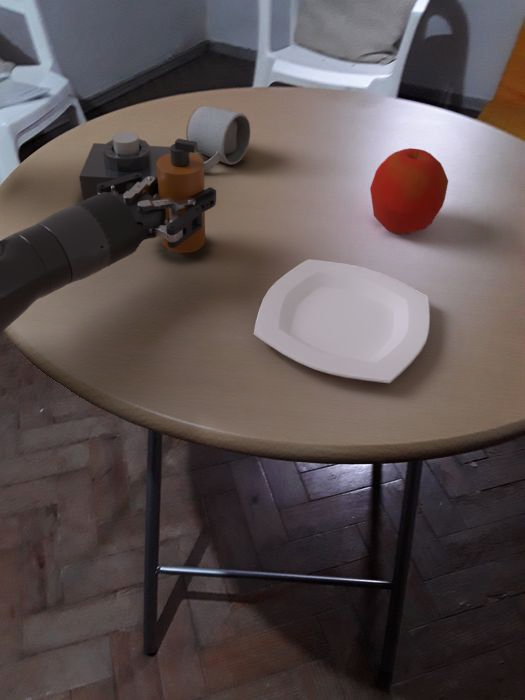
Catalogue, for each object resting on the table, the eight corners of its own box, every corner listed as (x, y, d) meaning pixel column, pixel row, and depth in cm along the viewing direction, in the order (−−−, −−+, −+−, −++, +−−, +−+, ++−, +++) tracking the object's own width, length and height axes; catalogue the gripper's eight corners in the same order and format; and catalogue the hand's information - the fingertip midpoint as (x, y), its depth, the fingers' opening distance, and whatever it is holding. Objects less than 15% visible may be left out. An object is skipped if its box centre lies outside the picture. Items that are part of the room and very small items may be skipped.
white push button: (112, 155, 88) (110, 142, 87) (116, 144, 91) (114, 130, 90) (137, 157, 89) (136, 143, 87) (141, 145, 91) (140, 131, 90)
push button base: (83, 201, 90) (76, 162, 86) (97, 167, 97) (91, 130, 93) (167, 205, 90) (164, 166, 86) (174, 171, 97) (172, 134, 93)
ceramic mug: (210, 139, 105) (209, 94, 100) (251, 153, 102) (252, 107, 97) (171, 165, 99) (167, 118, 93) (213, 181, 96) (212, 133, 91)
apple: (442, 247, 86) (465, 170, 78) (368, 243, 86) (384, 165, 78) (429, 207, 93) (449, 133, 85) (361, 204, 93) (375, 129, 85)
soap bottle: (155, 247, 81) (147, 146, 71) (171, 225, 85) (165, 126, 75) (196, 256, 80) (193, 155, 70) (210, 233, 84) (210, 134, 74)
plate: (231, 350, 69) (231, 337, 68) (298, 259, 82) (300, 247, 81) (398, 412, 64) (402, 399, 63) (442, 304, 77) (447, 292, 76)
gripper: (124, 236, 64) (238, 179, 73) (41, 184, 70) (156, 138, 80) (131, 293, 69) (237, 234, 78) (53, 240, 75) (160, 191, 85)
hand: (196, 185), depth 79 cm, fingers closed on soap bottle, 5 cm apart
